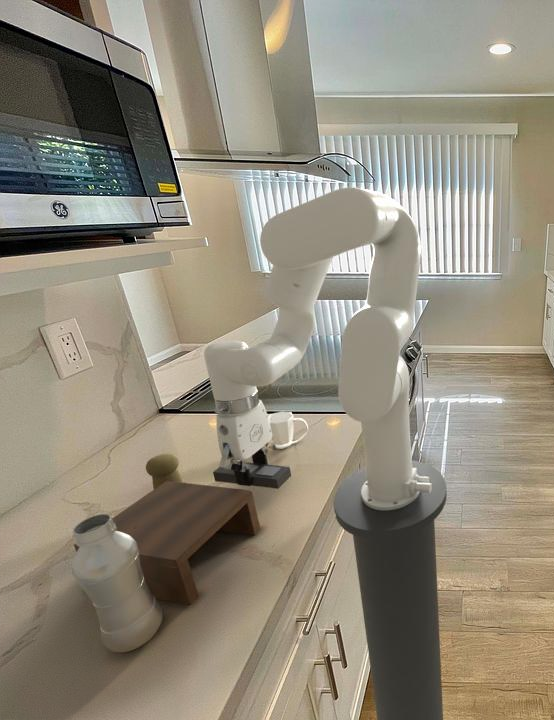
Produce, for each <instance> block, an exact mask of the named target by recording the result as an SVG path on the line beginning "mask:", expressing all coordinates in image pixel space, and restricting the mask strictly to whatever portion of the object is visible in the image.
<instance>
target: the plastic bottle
mask: <svg viewBox="0 0 554 720" xmlns="http://www.w3.org/2000/svg"><path fill="white" fill-rule="evenodd" d="M112 518H113V517H112V516H111V515H110V514H109V513H99V514H95V515H92V516H89V517H87V518H86V519H84V520H81V521H80V522H79V523H77V524H76V525H75V526H74V527H73V529H72V535H73V537H74V542H75V544H76V545H77V546H79V549H78V551H77V552H75V554H74V557H73V559H72V562H71V575H72V576H73V578H74V579H75V581H76V582H77V584H78V585H79V586H80V587H81V588H82V589H83V591H84V592H85V593H86V594H87V596H88V598H89V600H90V601H91V603H92V605H93V606H94V609H95V611H96V615H97V618H98V622H99V628H100V629H99V630H100V637H101V641H102V643H103V645H104V646H105V647H106V648H107V649H108V650H109V651H111V652H113V653H128V652H131V651H133V650H135V649H138V648H140V647H141V646H144V645H145V644H146V643H147V642H148V641H150V640H151V639H152V638H153V637H154V636H155V634H156V633H157V632H158V630H159V628H160V627H161V624H162V621H163V609H162V605H161V604H160V602H159V601H158V599H156V598H155V597H154V596H153V595H152V593H151V591H150V590H149V588H148V586H147V584H146V582H145V580H144V576H143V573H142V569H141V566H140V559H139V552H138V546H137V542H136V541H135V540H134V539H133V538H132V537H131V536H129V535H127V534H125V533H122V532H119V531H116V524H115V523H114V522H113V520H112Z"/></svg>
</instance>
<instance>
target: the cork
mask: <svg viewBox="0 0 554 720" xmlns="http://www.w3.org/2000/svg"><path fill="white" fill-rule="evenodd" d="M179 464H180V460H179V458H178V457H177V455H176V454H174V453H170V452H169V453H168V452H167V453H161V454H157V455H154V456H153V457H151V458H150V459H148V461H146V465H145V471H146V473H147V474H148V475H149V476H151V478H152V486H153V490H154V489H156V488H157V487H158V486H160V485H161V484H163V483H164V482H166V481H173V482H182V483H186V482H185V480H184V479H183V477H182V474H181V473H180V471H179V469H178V467H179Z"/></svg>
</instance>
